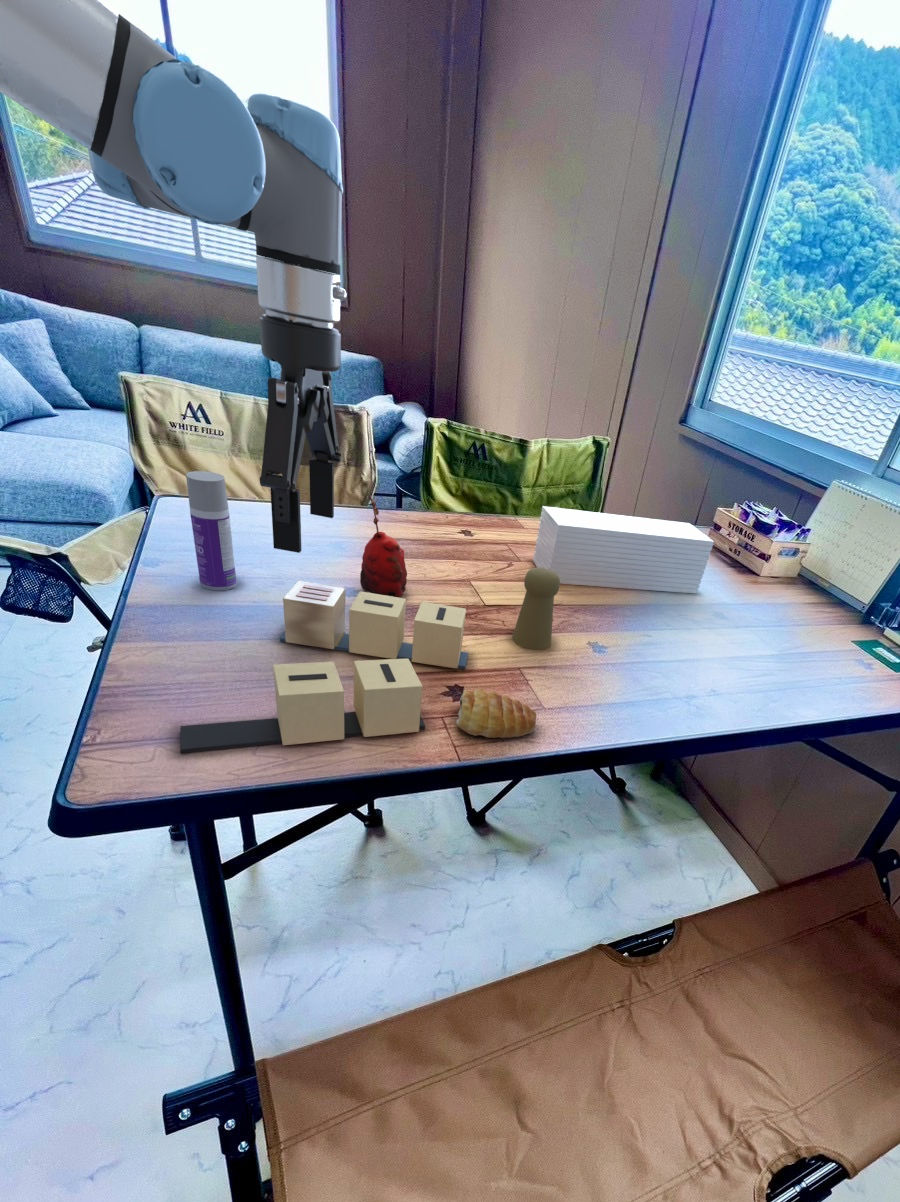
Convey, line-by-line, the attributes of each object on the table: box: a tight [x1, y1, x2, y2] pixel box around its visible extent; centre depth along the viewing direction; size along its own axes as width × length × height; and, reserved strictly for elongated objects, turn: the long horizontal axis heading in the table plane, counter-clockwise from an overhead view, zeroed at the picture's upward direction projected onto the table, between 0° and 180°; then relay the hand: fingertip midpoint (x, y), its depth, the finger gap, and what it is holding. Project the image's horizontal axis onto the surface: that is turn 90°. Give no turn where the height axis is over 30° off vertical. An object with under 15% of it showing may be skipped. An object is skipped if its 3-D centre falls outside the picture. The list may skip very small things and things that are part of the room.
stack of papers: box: [532, 505, 715, 594], centre depth 121 cm, size 32×11×11 cm, turn 106°
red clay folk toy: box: [359, 494, 408, 598], centre depth 94 cm, size 8×7×15 cm
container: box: [185, 470, 237, 591], centre depth 85 cm, size 5×5×15 cm
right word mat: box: [279, 590, 469, 670], centre depth 81 cm, size 24×6×7 cm, turn 91°
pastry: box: [455, 688, 537, 739], centre depth 73 cm, size 9×7×4 cm
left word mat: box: [179, 658, 426, 754], centre depth 65 cm, size 24×6×7 cm, turn 114°
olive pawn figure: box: [511, 567, 561, 651], centre depth 91 cm, size 6×6×11 cm
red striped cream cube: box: [282, 580, 346, 650], centre depth 80 cm, size 6×6×6 cm
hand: (306, 531), depth 73 cm, fingers open, 13 cm apart
